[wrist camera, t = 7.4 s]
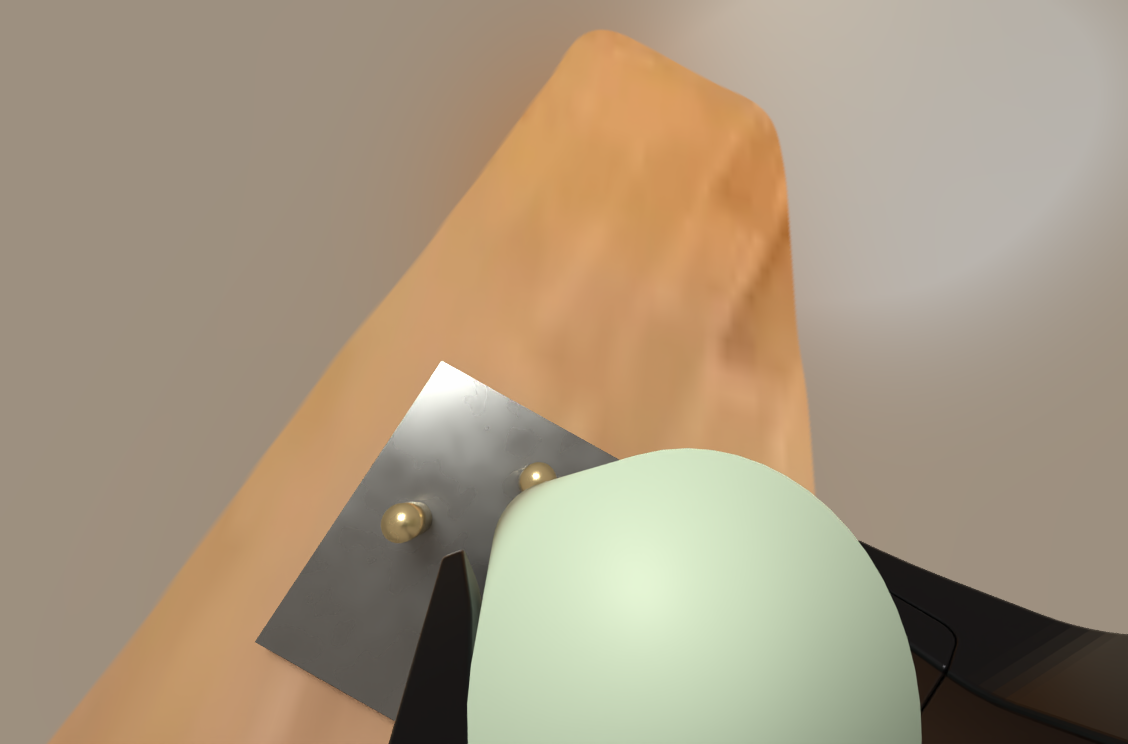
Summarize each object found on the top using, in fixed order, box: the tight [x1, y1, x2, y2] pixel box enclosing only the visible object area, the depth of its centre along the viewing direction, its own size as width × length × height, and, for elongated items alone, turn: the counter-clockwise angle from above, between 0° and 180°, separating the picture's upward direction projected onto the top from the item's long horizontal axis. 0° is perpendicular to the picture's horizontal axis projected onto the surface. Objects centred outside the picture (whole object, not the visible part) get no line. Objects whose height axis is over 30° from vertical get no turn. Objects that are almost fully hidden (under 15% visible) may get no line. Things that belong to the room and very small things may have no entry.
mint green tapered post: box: [467, 448, 922, 744], centre depth 10 cm, size 4×4×12 cm
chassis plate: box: [255, 361, 619, 721], centre depth 19 cm, size 14×14×4 cm
